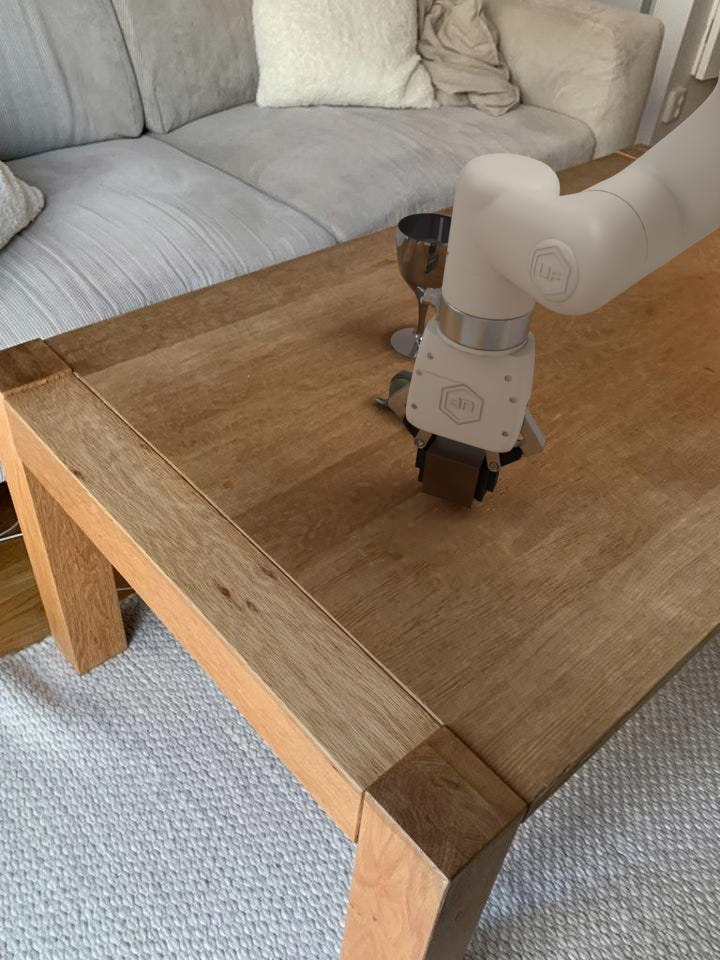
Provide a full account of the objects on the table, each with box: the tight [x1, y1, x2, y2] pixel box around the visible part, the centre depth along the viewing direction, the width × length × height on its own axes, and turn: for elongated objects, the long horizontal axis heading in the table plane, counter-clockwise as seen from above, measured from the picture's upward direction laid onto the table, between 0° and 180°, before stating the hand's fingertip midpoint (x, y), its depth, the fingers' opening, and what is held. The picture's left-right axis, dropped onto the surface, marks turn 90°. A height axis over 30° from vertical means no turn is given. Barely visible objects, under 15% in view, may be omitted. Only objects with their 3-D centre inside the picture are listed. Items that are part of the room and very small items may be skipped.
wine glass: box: [389, 212, 452, 359], centre depth 97 cm, size 8×8×15 cm
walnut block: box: [420, 435, 486, 510], centre depth 77 cm, size 5×5×5 cm
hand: (454, 481), depth 78 cm, fingers closed on walnut block, 5 cm apart
